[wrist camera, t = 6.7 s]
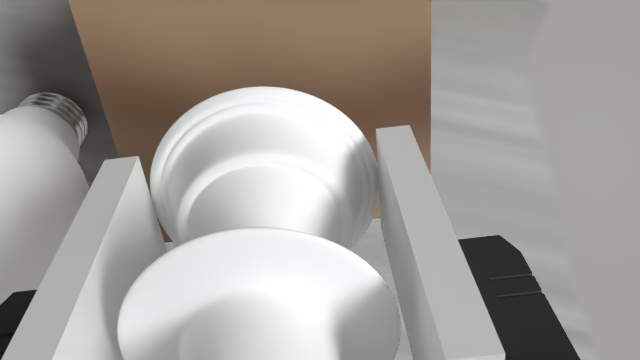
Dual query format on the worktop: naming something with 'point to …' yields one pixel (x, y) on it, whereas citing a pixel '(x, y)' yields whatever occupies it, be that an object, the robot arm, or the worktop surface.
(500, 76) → the worktop surface
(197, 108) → the candle
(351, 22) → the small wooden table
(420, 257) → the robot arm
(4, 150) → the light bulb
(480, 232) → the worktop surface
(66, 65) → the worktop surface
